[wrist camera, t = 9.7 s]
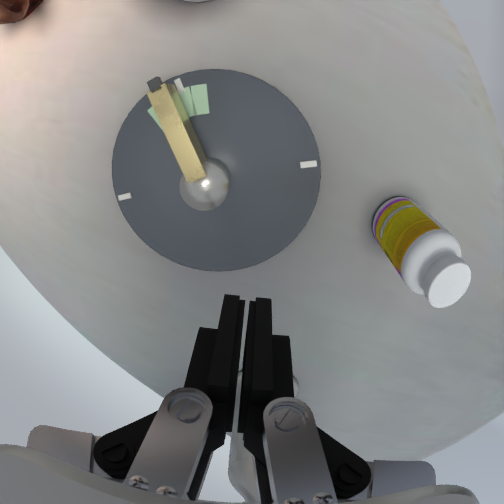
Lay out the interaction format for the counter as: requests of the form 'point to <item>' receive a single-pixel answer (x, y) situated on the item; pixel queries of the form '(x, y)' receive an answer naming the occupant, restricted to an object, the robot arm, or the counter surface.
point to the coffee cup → (196, 0)
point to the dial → (238, 162)
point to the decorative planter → (16, 9)
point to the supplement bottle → (421, 251)
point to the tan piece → (189, 151)
